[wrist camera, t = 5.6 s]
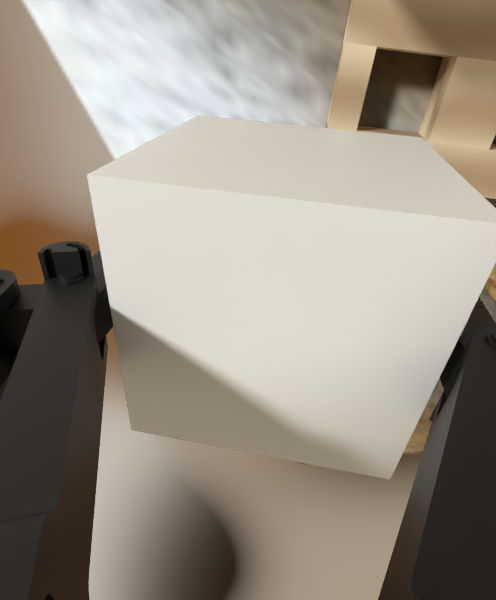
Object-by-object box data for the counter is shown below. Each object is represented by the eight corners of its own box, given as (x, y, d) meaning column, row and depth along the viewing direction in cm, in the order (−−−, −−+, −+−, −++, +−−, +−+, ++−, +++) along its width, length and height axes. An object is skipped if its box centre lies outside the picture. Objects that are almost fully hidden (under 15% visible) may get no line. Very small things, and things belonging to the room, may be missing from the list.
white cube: (198, 115, 14) (86, 174, 8) (420, 137, 13) (513, 225, 7) (200, 294, 19) (131, 430, 12) (366, 319, 18) (389, 479, 11)
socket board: (354, -13, 22) (357, -22, 20) (643, 19, 21) (686, 14, 19) (318, 162, 28) (318, 172, 25) (547, 196, 26) (570, 210, 24)
